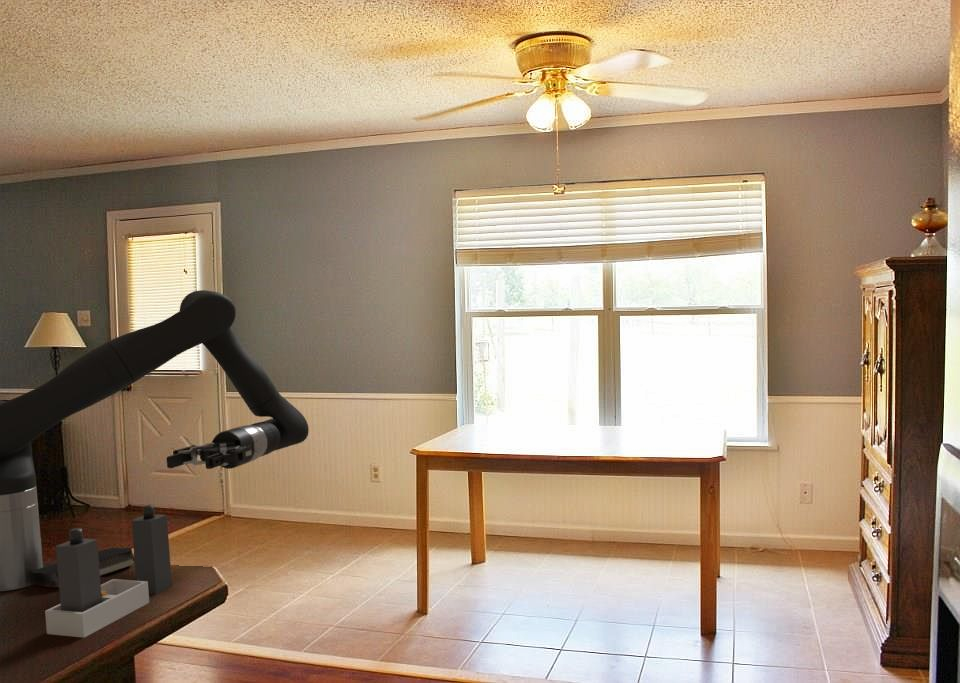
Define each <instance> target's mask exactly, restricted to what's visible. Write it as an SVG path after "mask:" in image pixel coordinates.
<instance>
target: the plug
mask: <svg viewBox="0 0 960 683" xmlns="http://www.w3.org/2000/svg"><path fill="white" fill-rule="evenodd" d="M155 513H156V512H155V505H154V504H145V505H143V506H142V514H143V515H142V516H139V517H137V518H134V519H132V520H131V531H132V532H131V534H132V547H133V549H132V550H133V555H134V562H133V563H134V571H135V572H134V573H135V581H148V591H149V595H158V594H159V593H160V594H161V593H162V592H163V591H165V590H168V589H169V588H171V587H173V582H172V567H171V555H170V554H171V553H170V540H169V539H170V538H169V529H168V528H169V527H168V526H169V525H168V516H167V514H155Z"/></svg>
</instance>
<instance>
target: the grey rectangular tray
mask: <svg viewBox="0 0 960 683" xmlns="http://www.w3.org/2000/svg"><path fill="white" fill-rule="evenodd" d="M101 595H102V603H100V604H98V605H96V606H94V607H92V608H90V609H88V610H86V611H84V612H73V611H61V603H59V604H57V605H55V606H53V607H50V608H48V609H46V610H45V611H44V613H45V614H44V615H45V627H46V635H54V636H63V637H64V636H65V637H75V638H83V639H84V638H86V637H88V636H90V635H92V634H94V633H95V632H98V631H99V630H101V629H102V628H105V627H107V626H108V625H111V624H113V623H114V622H116V621H118V620H120V619H122V618H124V617H125V616H127V615H129V614H131V613H133V612H134V611H137V610H138V609H141V608H142V607H144V606H146V605H147V604H149V603H150V594H149V591H148V581H136V579H134V580H132V579H121V578H120V579H119V578H112V579H110V580H108V581H106V582H103V583H102V584H101Z"/></svg>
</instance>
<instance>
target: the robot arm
mask: <svg viewBox="0 0 960 683" xmlns="http://www.w3.org/2000/svg"><path fill="white" fill-rule="evenodd" d="M236 313H237V311H236V306H235V303H234V302H233V301H232V299H231V298H229V297H228V296H226V295H225V294H222V293H221V292H217V291H212V290H195V291H192V292H190V293H188V294H186V296H184V297H183V299H182V300H181V303H180V304H179V311H177V312H176V313H174V314H173V315H171V316H169V317H168V318H166V319H164V320H161V321H159V322H158V323H155V324H152V325H149V326H146V327H143V328H140V329H137V330H134V331H131V332H127V333H125V334H122V335H120V336H117V337H114V338H113V339H110V340H109V341H107V342H105V343H103V344H101V345H98V346H97V347H96V348H94V349H92V350H89V351H88V352H86V353H85V354H84V355H81V356H80V357H79V358H77V359H75V360H74V361H73V362H72V363H70V364H68V365H67V366H65V368H63V369H62V370H61V371H60V372H59V373H56V375H55V376H53V377H52V378H50V379H49V380H48V381H46V382H45V383H43V384H41V385H40V386H37V387H35V388H34V389H32V390H29V391H28V392H27V391H26V393H23V394H21V395H19V396H16V397H14V398H12V399H10V400H7V401H6V400H0V592H6V591H7V592H8V591H14V590H19V589H23V588H26V587H27V588H28V587H30V586H32V585H35V584H36V583H35V579H34V575H33V573H32V571H34V570H36V569H40V568H43V567H44V564H43V563H44V562H43V553H42V552H43V550H42V538H41V527H40V515H39V502H38V492H37V490H38V489H37V478H36V477H37V476H36V469H35V465H34V464H35V463H34V460H33V459H34V458H33V449H32V447H33V446H32V442H33V441H34V440H35V439H37V438H39V437H40V436H41V435H43V434H44V433H45V432H47V431H49V430H50V429H52V428H53V427H54V426H56V425H57V424H58V423H60V422H61V421H63V420H65V419H67V418H68V417H70V416H72V415H74V414H76V413H79V412H81V411H83V410H86V409H88V408H90V407H91V406H93V405H95V404H97V403H100V402H102V401H103V400H105V399H107V398H109V397H111V396H113V395H115V394H117V393H118V392H120V391H123V390H124V389H125V388H127V387H129V386H131V385H133V384H134V383H137V381H140V380H141V379H142V378H145V376H147V375H149V374H150V373H152V372H154V371H155V370H157V369H159V368H160V367H162V366H163V365H165V364H166V363H167V362H169V361H171V360H172V359H174V358H175V357H177V356H179V355H180V354H182V353H185V352H186V351H189V350H190V349H193V348H195V347H197V346H199V345H203V346H204V347H205V348H206V349H207V350H208V352H209V353H210V354H211V355H212V357H213V358H214V359H215V360H216V361H217V363H218V364H219V366H220V367H221V368H222V370H223V372H224V373H225V374H226V375H227V377H228V379H229V380H230V381H231V383H232V384H233V386H234V387H235V389H236V391H237V392H238V394H239V395H240V397H241V398H242V400H243V402H244V403H245V404H246V406H247V407H248V410H250V412H251V413H252V414H253V415H254V416H255V417H260V418H263V417H264V418H265V417H267V418H270V419H266V420H264V421H260V422H254V423H252V424H246V425H241V426H237V427H234V428H230V429H226V430H223V431H221V432H219V433H217V434H216V435H215V436H214V437H213V438H212V441H211V442H209V443H207V442H206V443H205V444H202V445H198V446H197V445H195V444H192V445H189V446H186V447H183V448H179V449H174V450H173V451H172V454H171V455H168V456H167V457H166V467H167V468H168V469H173V468H174V469H175V468H176V467H180V466H184V465H189V464H192V465H194V466H198V465H205V468H206V470H211V469H215V468H217V467H220V468H224V469H228V470H231V469H235V468H238V467H241V466H242V465H246V464H248V463H251V462H254V461H255V460H257V459H259V458H261V457H264V456H266V455H269V454H271V453H273V452H275V451H278V450H281V449H285V448H288V447H293V446H295V445H298V444H300V443H302V442H304V441H306V439H307V438H308V436H309V430H310V429H309V424H308V422H307V420H306V417H305V416H304V415H303V413H302V412H300V410H299V409H297V408H296V407H295V406H294V405H293V404H292V403H291V402H290V401H288V400H287V398H285V397H284V396H282V395H281V393H279V391H278V389H277V388H276V386H275V385H274V383H273V382H272V380H271V379H270V377H269V375H268V374H267V372H266V371H265V370H264V369H263V367H262V366H261V365H260V364H259V362H257V360H256V359H255V358H254V357H253V356H252V355H251V354H250V353H249V352H248V351H247V350H246V348H245V347H244V345H242V344H241V342H240V341H239V340H238V338H237V336H236V335H235V333H234V331H233V330H232V328H231V327H232V326H233V324H234V323H235V319H236V316H237V315H236ZM198 456H199V459H200V460H197V459H198Z"/></svg>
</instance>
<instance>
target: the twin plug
mask: <svg viewBox="0 0 960 683" xmlns="http://www.w3.org/2000/svg"><path fill="white" fill-rule="evenodd" d="M68 533H69V540H68V541H66V542H63V543H61V544H58V545H55V552H56V564H57V566H58V579H59V587H58V588H59V591H58V592H59V601H60V603H59V604H61V611H73V612H84V611H86V610H88V609H90V608H92V607H94V606H96V605H98V604H100V603H102V595H101V576H100V570H99V557H98V551H99V549H98V539H94V538H84V536H83V534H84V533H83V528H81V527H77V528H72V529H69V530H68Z"/></svg>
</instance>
